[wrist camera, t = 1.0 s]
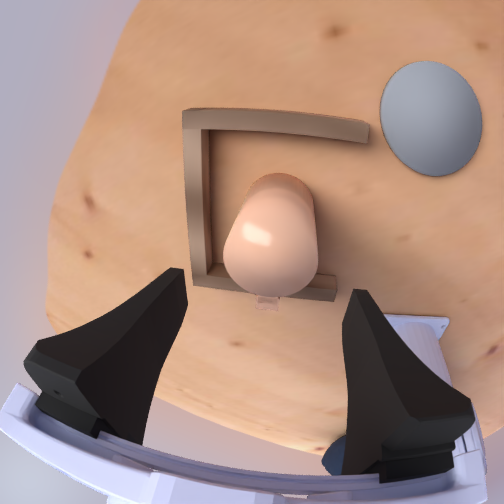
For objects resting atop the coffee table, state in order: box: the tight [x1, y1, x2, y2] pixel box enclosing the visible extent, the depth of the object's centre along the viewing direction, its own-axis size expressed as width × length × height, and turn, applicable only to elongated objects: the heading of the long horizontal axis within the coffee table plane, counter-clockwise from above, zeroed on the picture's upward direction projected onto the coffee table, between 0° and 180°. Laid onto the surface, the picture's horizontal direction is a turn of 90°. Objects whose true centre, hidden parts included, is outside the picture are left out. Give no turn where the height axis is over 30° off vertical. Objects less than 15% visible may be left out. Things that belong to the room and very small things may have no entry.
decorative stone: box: [322, 435, 346, 476], centre depth 35 cm, size 12×12×10 cm
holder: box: [182, 108, 370, 302], centre depth 20 cm, size 13×11×2 cm
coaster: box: [380, 61, 482, 176], centre depth 15 cm, size 8×8×1 cm
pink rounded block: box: [223, 173, 318, 311], centre depth 18 cm, size 7×5×7 cm
